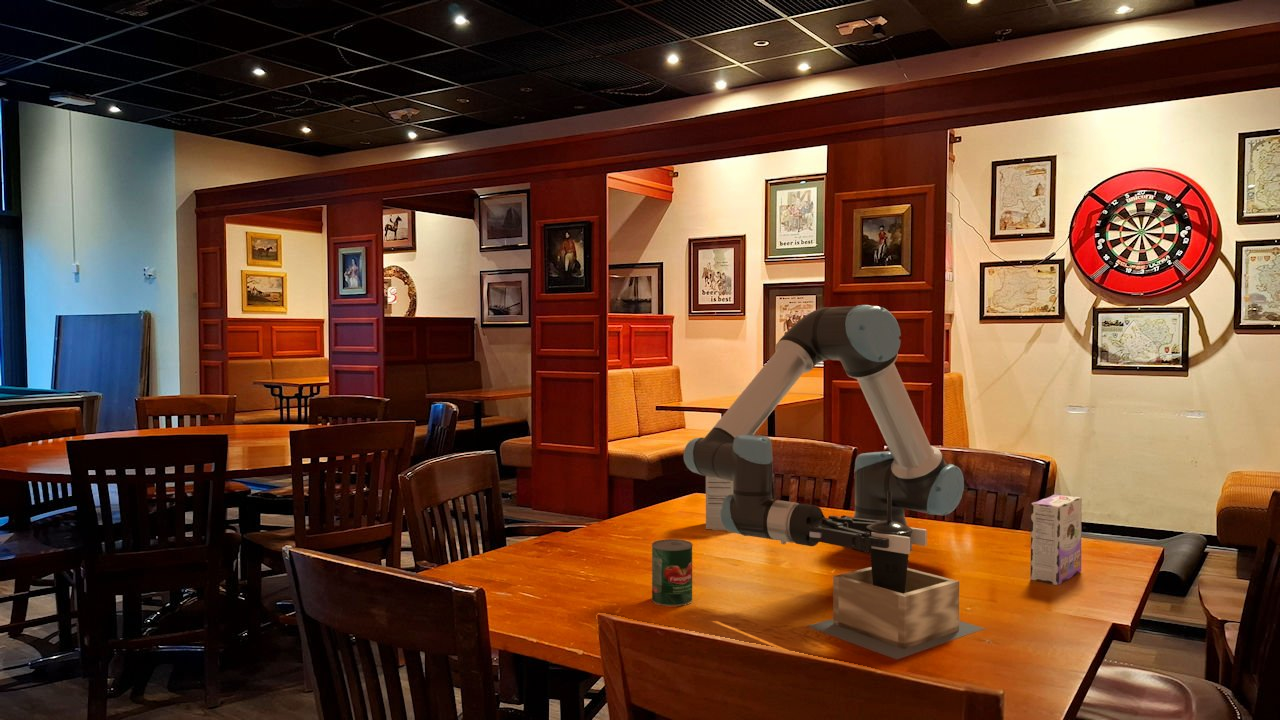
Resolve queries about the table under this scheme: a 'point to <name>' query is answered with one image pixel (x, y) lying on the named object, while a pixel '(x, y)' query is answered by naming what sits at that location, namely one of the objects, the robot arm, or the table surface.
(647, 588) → the table surface
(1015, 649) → the table surface
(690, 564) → the canned tomato
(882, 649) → the mat
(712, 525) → the supplement box
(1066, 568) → the candy box
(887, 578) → the drinking cup
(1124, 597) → the table surface
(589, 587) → the table surface
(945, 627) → the holder
